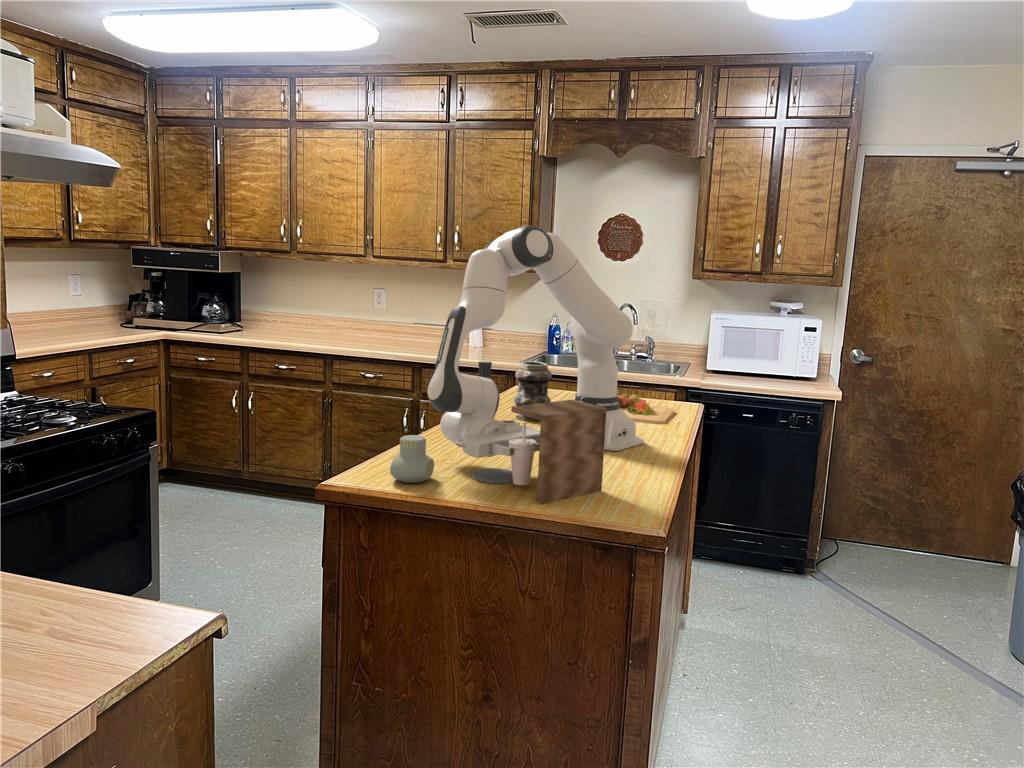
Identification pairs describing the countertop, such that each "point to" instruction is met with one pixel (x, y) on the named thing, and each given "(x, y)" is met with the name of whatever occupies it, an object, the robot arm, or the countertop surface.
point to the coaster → (493, 475)
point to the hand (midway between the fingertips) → (524, 450)
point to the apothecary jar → (532, 385)
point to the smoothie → (522, 458)
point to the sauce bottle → (485, 369)
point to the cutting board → (645, 410)
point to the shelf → (568, 448)
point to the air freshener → (412, 461)
